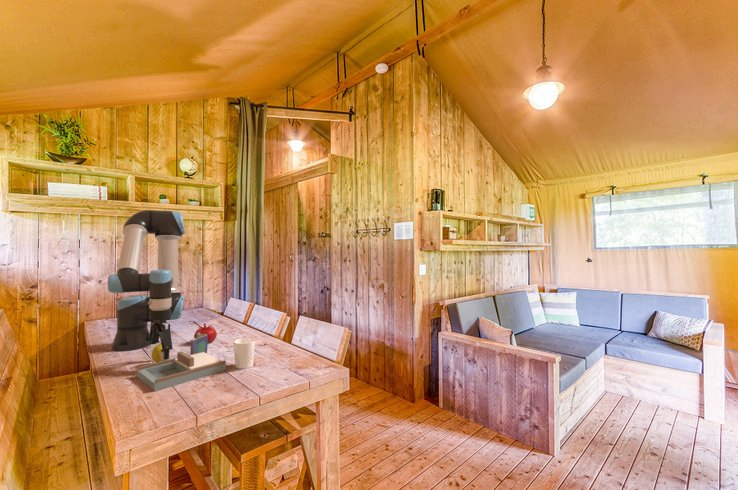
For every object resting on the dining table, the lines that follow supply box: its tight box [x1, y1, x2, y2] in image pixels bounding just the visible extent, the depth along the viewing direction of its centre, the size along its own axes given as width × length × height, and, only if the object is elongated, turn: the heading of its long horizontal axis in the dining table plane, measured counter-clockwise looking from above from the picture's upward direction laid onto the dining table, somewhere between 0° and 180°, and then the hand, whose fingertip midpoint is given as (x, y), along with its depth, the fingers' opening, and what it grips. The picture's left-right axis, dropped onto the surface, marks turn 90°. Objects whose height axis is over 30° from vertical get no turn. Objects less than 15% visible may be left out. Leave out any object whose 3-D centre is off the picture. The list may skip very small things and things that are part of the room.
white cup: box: [233, 337, 256, 370], centre depth 132 cm, size 8×8×10 cm
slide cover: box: [175, 351, 222, 370], centre depth 128 cm, size 15×11×4 cm
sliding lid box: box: [136, 351, 227, 392], centre depth 123 cm, size 18×24×4 cm
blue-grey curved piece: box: [190, 333, 208, 354], centre depth 140 cm, size 9×3×11 cm, turn 170°
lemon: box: [152, 343, 162, 363], centre depth 133 cm, size 6×6×8 cm
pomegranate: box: [193, 323, 218, 344], centre depth 162 cm, size 10×10×9 cm
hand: (159, 363), depth 133 cm, fingers open, 11 cm apart
